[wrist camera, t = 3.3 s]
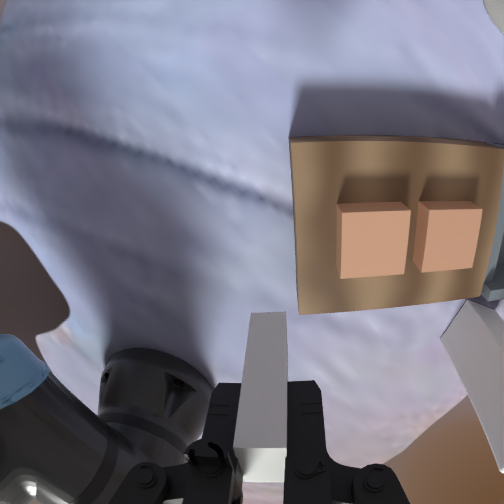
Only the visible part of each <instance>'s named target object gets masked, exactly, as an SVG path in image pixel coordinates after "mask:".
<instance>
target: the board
mask: <svg viewBox="0 0 504 504" xmlns="http://www.w3.org/2000/svg"><path fill="white" fill-rule="evenodd" d="M289 150H290V164H291V179H292V195H293V213H294V233H295V255H296V283H297V298H298V309H299V315H305V314H320V313H335V312H348V311H360V310H371V309H382V308H392V307H401V306H411V305H419V304H428V303H436V302H444V301H451V300H459V299H466V298H473V297H479V296H480V294H481V291H482V287H483V283H484V280H485V276H486V272H487V268H488V263H489V259H490V255H491V250H492V245H493V240H494V235H495V229H496V224H497V218H498V211H499V204H500V196H501V188H502V178H503V167H504V149H502V148H499V147H496V146H493V145H489V144H486V143H483V142H479V141H470V140H459V139H447V138H433V137H415V136H386V135H333V136H304V137H289ZM418 201H471V202H472V203H474V204H475V205H477V206H479V207H480V208H482V209H483V210H482V218H481V224H480V230H479V236H478V242H477V247H476V252H475V257H474V262H473V266H472V268H466V269H456V270H445V271H434V272H423V273H421V272H420V270H419V269H418V268H417V266H416V265H415V264H414V262H413V261H412V259H413V252H414V244H415V235H416V225H417V214H418ZM371 202H402V203H403V204H404V205H405V206H406V207H408V208H409V209H410V210H411V215H410V227H409V237H408V246H407V255H406V263H405V270H404V274H399V275H387V276H374V277H360V278H346V279H340V276H339V273H338V270H337V267H336V247H337V204H344V203H371Z"/></svg>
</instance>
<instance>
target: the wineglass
mask: <svg viewBox="0 0 504 504" xmlns="http://www.w3.org/2000/svg"><path fill="white" fill-rule="evenodd" d="M483 3H484V6H485V9H486V11H487V13H488V15H489V17H490V18H491V20H492V21H493V23H494V24H495V26H496V27H497V28H498V29H499V30H500V32H502V33H503V34H504V0H483Z"/></svg>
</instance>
